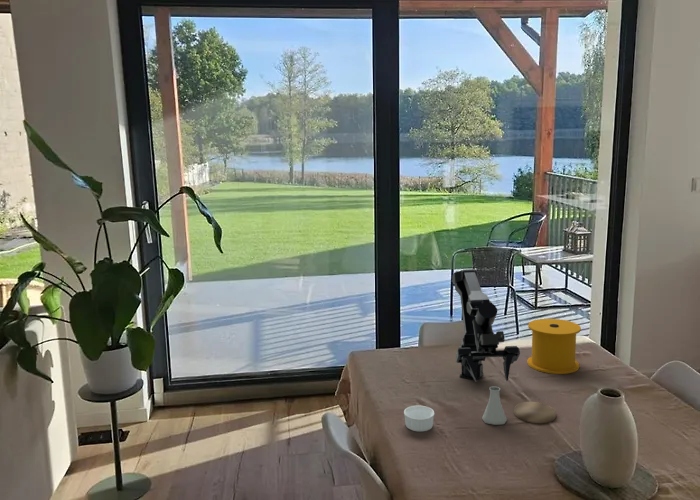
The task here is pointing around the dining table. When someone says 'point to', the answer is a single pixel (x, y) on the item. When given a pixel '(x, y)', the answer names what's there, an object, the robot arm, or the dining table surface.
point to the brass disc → (535, 412)
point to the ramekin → (419, 418)
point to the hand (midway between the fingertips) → (491, 380)
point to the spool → (553, 346)
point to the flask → (494, 408)
